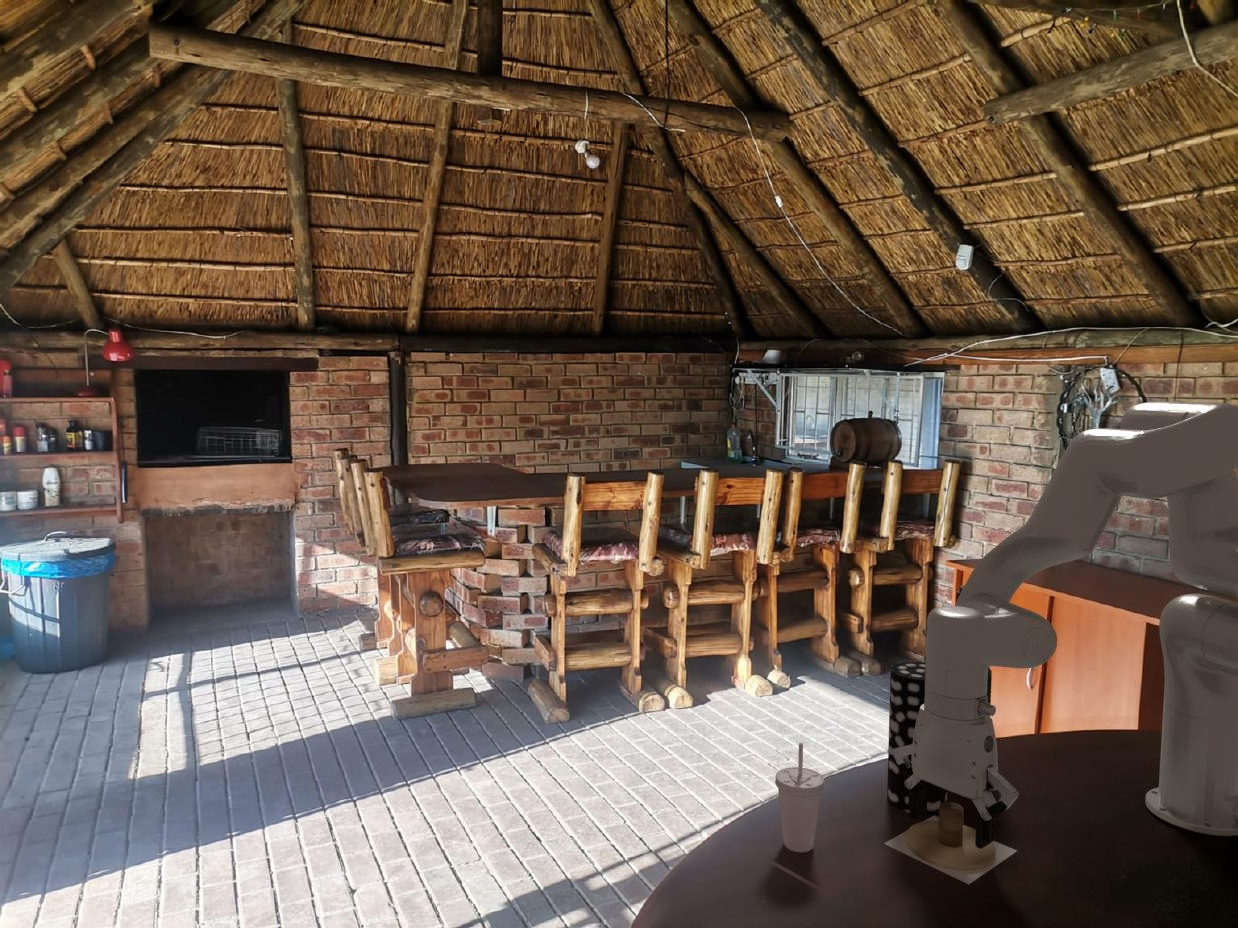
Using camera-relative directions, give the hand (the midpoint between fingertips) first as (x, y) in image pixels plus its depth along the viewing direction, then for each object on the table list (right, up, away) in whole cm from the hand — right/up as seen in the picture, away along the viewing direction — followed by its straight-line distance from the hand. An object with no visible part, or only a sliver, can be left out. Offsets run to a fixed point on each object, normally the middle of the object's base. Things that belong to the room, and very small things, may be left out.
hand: (950, 829), depth 113 cm
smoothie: (-20, -3, +1) cm, 20 cm away
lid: (0, -2, 0) cm, 2 cm away
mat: (0, -3, 0) cm, 3 cm away
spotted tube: (0, -2, +13) cm, 13 cm away
